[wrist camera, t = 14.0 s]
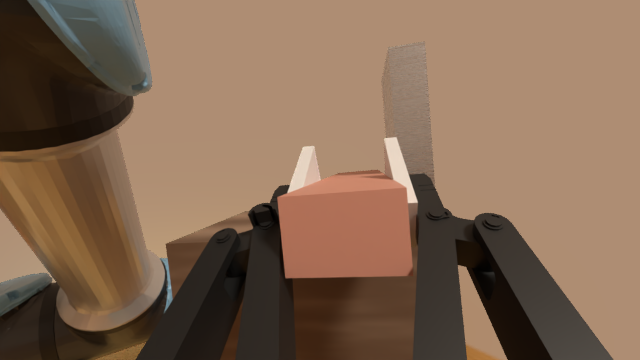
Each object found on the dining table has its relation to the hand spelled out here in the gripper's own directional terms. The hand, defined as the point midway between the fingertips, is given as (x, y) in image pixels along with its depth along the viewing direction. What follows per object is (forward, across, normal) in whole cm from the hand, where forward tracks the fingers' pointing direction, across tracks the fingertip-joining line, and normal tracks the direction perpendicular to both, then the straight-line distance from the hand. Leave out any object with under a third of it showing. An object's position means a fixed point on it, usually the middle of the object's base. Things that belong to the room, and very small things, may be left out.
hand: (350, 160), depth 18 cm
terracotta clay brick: (0, 0, -5) cm, 5 cm away
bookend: (+3, +4, -8) cm, 9 cm away
